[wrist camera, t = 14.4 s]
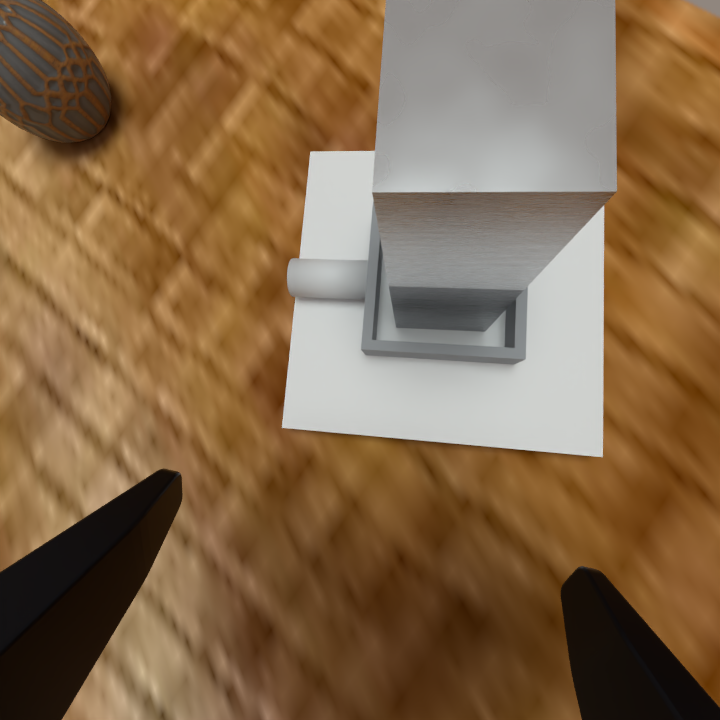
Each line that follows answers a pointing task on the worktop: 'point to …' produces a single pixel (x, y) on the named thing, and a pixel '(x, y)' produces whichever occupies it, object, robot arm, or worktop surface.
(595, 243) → the plate
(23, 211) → the worktop surface
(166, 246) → the worktop surface
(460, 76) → the silver metal block
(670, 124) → the worktop surface
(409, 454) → the worktop surface
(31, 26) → the vase
